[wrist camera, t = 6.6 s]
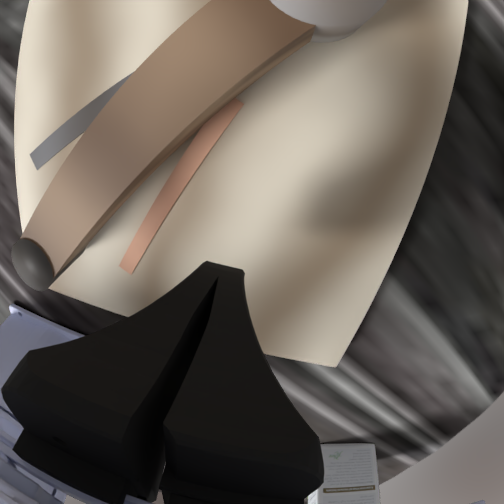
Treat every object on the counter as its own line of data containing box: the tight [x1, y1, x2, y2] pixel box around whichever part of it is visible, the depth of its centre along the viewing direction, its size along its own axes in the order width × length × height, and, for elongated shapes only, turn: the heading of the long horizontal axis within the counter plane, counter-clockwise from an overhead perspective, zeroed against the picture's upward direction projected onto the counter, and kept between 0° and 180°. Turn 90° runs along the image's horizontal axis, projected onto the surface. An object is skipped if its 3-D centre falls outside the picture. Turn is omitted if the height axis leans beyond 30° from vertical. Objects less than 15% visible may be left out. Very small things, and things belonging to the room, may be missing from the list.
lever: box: [11, 0, 387, 291], centre depth 10 cm, size 19×4×3 cm, turn 130°
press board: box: [14, 0, 468, 367], centre depth 13 cm, size 20×20×2 cm
